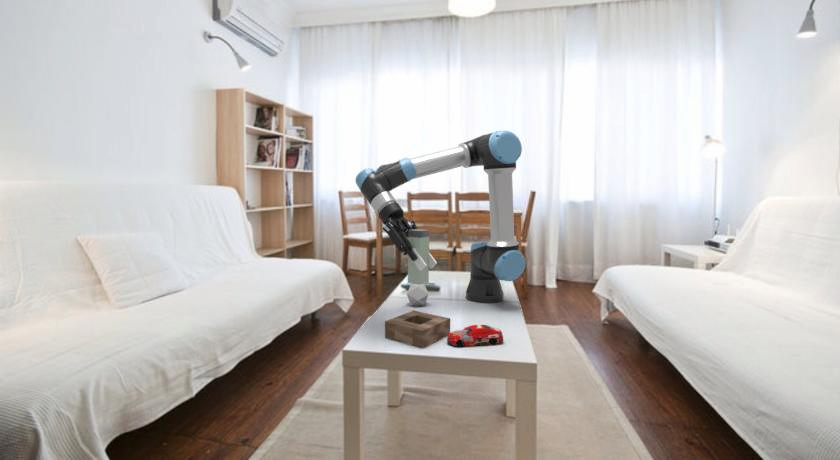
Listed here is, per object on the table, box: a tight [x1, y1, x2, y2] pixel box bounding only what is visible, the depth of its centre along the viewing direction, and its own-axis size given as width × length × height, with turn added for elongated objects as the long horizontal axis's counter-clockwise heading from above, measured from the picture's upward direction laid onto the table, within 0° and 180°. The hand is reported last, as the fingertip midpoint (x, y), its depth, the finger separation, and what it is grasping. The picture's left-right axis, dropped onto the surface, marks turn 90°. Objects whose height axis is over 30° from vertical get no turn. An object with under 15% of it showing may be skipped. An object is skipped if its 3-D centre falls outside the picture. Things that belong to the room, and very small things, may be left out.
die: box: [406, 283, 429, 307], centre depth 161 cm, size 8×9×10 cm
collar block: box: [384, 310, 451, 349], centre depth 127 cm, size 14×14×5 cm
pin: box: [407, 228, 431, 285], centre depth 127 cm, size 4×4×16 cm
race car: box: [446, 324, 504, 348], centre depth 121 cm, size 16×7×5 cm, turn 98°
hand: (428, 266), depth 125 cm, fingers closed on pin, 4 cm apart
